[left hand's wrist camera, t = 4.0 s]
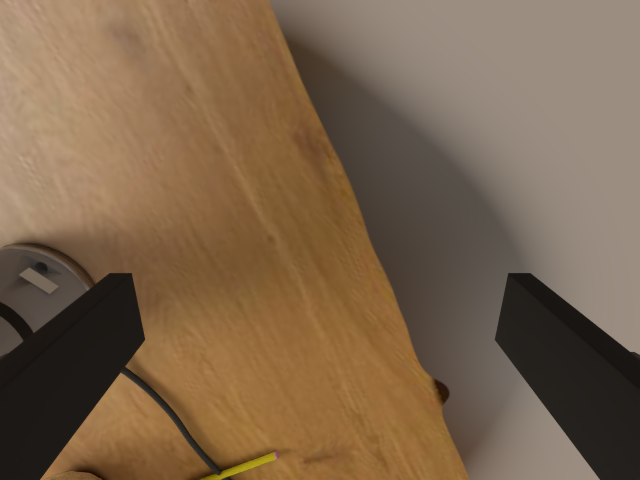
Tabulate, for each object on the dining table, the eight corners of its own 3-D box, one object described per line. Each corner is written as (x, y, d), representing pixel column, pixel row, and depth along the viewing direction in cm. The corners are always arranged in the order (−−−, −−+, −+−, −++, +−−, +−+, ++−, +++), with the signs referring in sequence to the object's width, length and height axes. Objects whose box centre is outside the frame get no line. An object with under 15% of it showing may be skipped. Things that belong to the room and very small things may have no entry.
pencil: (276, 449, 54) (275, 455, 53) (279, 453, 54) (278, 459, 54) (184, 483, 57) (182, 489, 56) (188, 487, 57) (186, 493, 56)
